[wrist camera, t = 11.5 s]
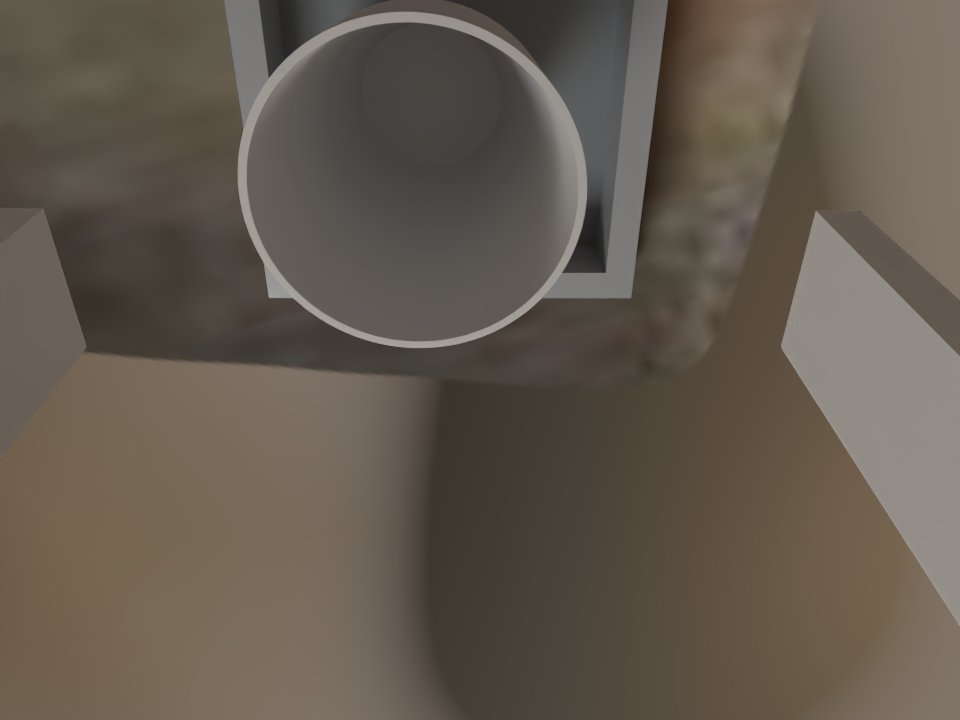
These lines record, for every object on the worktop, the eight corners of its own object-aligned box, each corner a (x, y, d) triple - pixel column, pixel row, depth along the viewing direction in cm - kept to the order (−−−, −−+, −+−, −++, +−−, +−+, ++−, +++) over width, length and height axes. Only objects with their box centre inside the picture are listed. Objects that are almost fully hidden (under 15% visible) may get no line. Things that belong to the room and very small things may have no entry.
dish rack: (179, -423, 21) (84, -520, 15) (707, -414, 21) (785, -507, 16) (276, 268, 31) (239, 345, 26) (626, 269, 31) (657, 345, 26)
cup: (510, 231, 29) (528, 377, 21) (295, 177, 28) (221, 309, 20) (580, 5, 25) (639, 72, 17) (332, -70, 24) (259, -39, 16)
